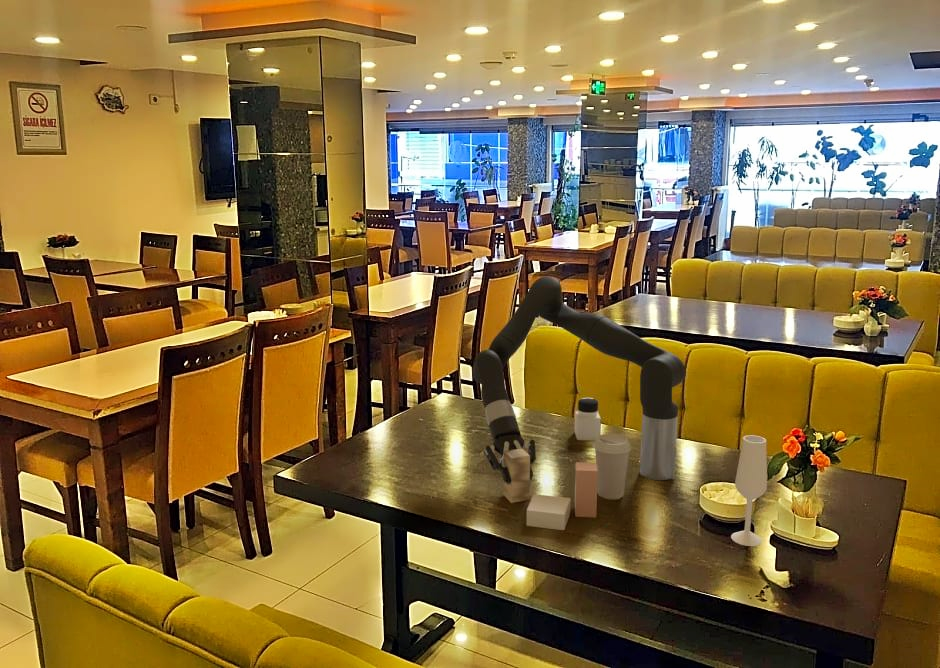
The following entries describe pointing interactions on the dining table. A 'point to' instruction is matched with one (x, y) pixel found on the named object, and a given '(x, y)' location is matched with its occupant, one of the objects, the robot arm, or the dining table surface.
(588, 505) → the terracotta pillar
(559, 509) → the plinth
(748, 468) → the champagne flute
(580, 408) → the medicine bottle
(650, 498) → the dining table surface
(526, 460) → the maple pillar
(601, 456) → the coffee cup
